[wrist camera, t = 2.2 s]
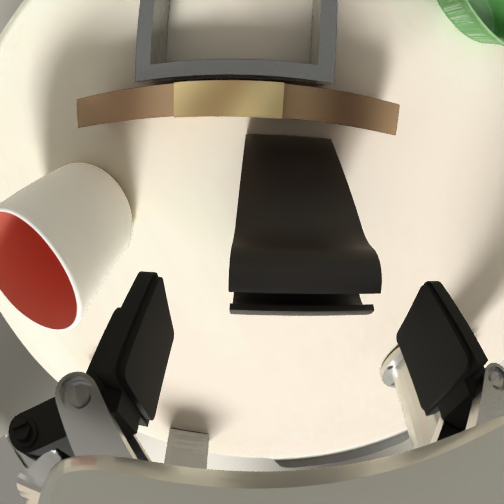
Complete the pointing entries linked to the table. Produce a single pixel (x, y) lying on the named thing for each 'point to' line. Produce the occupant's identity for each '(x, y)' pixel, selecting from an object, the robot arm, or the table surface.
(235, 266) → the phone stand
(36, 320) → the cup
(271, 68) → the frame
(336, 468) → the robot arm
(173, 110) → the door edge rail
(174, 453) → the skincare box
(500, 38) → the ramekin
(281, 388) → the table surface
